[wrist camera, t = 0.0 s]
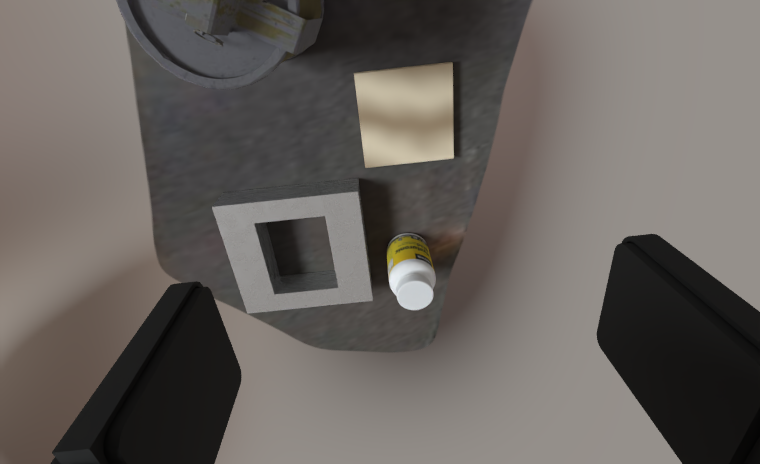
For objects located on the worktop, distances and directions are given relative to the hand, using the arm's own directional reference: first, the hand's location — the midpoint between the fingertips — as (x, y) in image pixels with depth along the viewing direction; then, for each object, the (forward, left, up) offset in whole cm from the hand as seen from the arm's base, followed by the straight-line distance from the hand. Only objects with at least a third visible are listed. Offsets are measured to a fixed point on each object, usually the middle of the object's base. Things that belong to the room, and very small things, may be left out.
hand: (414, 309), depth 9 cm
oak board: (+4, +3, -37) cm, 37 cm away
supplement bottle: (+21, +2, -37) cm, 43 cm away
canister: (-8, -9, -37) cm, 39 cm away
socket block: (+18, -11, -37) cm, 42 cm away
